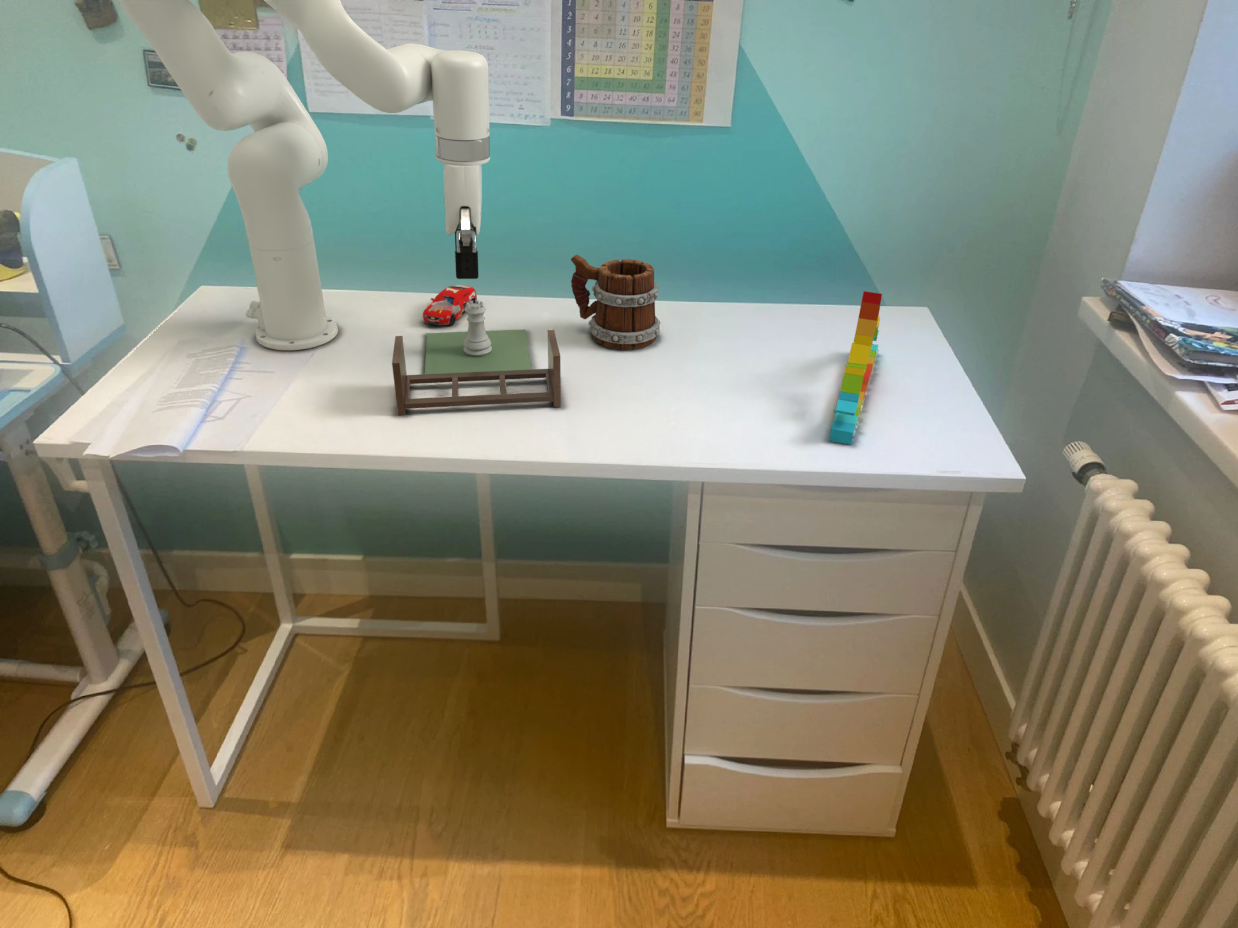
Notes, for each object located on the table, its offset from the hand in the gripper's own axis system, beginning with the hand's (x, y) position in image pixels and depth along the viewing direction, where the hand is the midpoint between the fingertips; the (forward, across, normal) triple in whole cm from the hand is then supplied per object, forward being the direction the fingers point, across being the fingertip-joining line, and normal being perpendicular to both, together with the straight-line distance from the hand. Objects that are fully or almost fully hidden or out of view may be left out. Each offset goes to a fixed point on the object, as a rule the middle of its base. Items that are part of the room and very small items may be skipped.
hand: (466, 266), depth 137 cm
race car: (+15, -16, -3) cm, 22 cm away
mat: (+14, 0, +1) cm, 14 cm away
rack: (+14, +15, +1) cm, 21 cm away
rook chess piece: (+14, 0, +1) cm, 14 cm away
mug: (+14, -4, +24) cm, 28 cm away
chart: (+13, +20, +56) cm, 61 cm away
